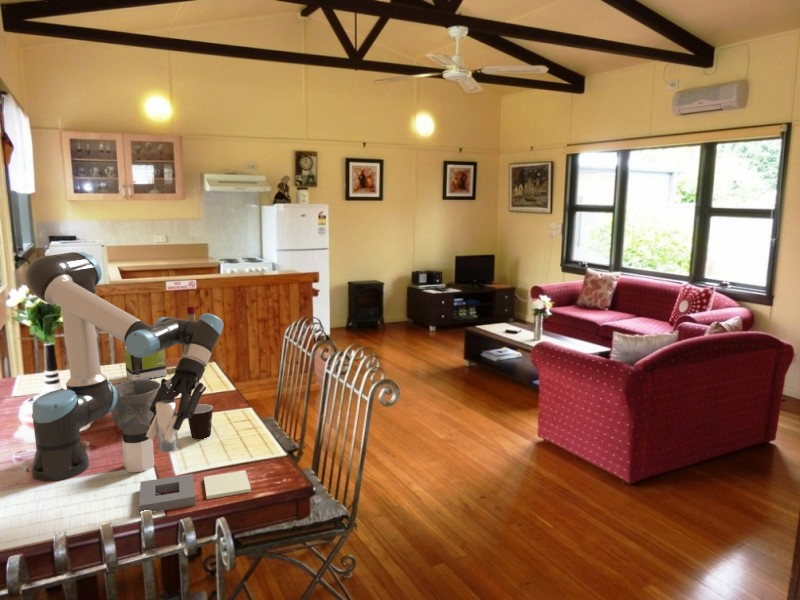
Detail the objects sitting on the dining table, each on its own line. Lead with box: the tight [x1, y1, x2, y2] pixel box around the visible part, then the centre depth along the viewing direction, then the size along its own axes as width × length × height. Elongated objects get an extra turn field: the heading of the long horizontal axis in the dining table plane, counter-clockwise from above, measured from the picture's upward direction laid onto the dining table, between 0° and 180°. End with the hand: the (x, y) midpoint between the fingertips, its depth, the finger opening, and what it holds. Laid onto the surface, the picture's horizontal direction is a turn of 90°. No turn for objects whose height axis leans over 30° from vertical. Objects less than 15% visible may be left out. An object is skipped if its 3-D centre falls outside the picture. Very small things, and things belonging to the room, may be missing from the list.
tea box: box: [123, 346, 168, 381], centre depth 269 cm, size 15×10×15 cm, turn 130°
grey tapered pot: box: [110, 379, 161, 431], centre depth 212 cm, size 18×18×15 cm
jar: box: [121, 425, 155, 473], centre depth 182 cm, size 9×8×12 cm
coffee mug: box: [187, 403, 214, 440], centre depth 206 cm, size 12×9×10 cm
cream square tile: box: [203, 469, 252, 500], centre depth 171 cm, size 12×12×1 cm
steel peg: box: [156, 399, 179, 453], centre depth 161 cm, size 5×5×13 cm
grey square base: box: [138, 473, 196, 514], centre depth 164 cm, size 14×14×2 cm
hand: (158, 439), depth 158 cm, fingers closed on steel peg, 5 cm apart
